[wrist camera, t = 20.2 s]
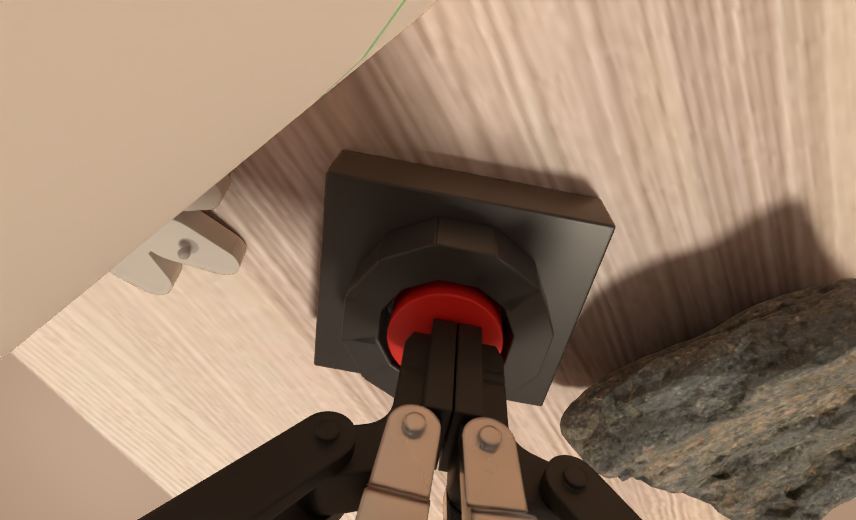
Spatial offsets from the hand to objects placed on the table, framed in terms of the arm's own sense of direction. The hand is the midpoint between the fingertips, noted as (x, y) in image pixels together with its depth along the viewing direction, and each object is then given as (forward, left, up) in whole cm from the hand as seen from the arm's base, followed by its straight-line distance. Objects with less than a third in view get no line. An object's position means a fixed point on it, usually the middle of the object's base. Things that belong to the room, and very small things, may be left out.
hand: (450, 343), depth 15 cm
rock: (+11, -2, -4) cm, 12 cm away
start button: (0, 0, -2) cm, 2 cm away
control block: (0, 0, -4) cm, 4 cm away
